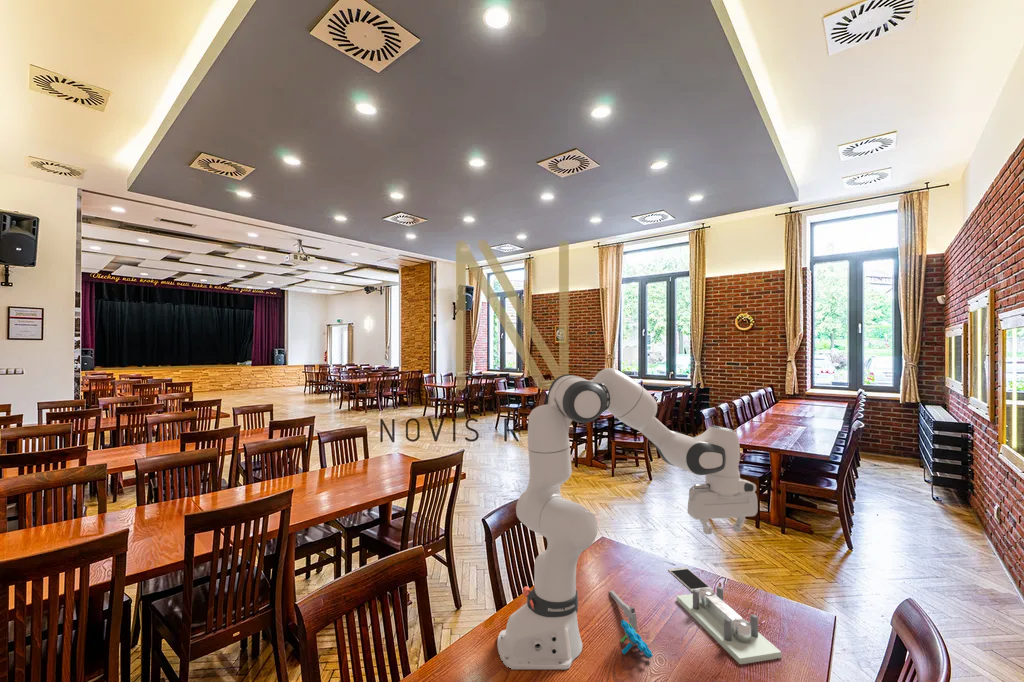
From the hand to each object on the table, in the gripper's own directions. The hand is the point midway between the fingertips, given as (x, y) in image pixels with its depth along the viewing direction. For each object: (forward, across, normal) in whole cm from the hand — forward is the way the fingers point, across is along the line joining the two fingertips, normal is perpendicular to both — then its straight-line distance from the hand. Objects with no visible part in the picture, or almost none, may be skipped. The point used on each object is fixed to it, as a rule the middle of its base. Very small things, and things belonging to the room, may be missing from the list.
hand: (722, 532), depth 123 cm
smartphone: (+27, +6, +24) cm, 37 cm away
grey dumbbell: (+25, +1, 0) cm, 25 cm away
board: (+26, +1, 0) cm, 26 cm away
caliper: (+27, -24, +12) cm, 39 cm away
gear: (+27, -29, -4) cm, 40 cm away
